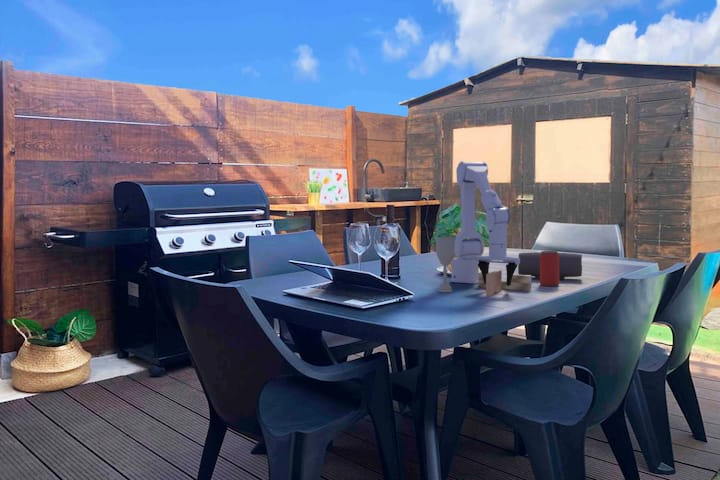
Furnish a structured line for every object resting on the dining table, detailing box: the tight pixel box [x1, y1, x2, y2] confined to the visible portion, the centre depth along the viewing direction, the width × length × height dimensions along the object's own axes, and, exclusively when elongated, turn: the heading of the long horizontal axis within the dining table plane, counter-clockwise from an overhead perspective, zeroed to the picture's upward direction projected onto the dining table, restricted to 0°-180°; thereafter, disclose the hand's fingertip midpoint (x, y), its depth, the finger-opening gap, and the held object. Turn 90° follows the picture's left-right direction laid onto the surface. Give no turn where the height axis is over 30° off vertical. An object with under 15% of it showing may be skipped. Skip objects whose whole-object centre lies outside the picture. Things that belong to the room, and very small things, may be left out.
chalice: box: [434, 236, 456, 293], centre depth 206 cm, size 7×7×18 cm
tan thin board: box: [485, 269, 503, 297], centre depth 201 cm, size 1×12×7 cm, turn 149°
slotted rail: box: [477, 271, 532, 292], centre depth 211 cm, size 18×2×5 cm, turn 59°
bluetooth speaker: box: [517, 251, 583, 280], centre depth 232 cm, size 23×9×10 cm, turn 73°
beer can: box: [539, 250, 560, 287], centre depth 216 cm, size 7×7×12 cm
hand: (497, 284), depth 204 cm, fingers open, 7 cm apart
